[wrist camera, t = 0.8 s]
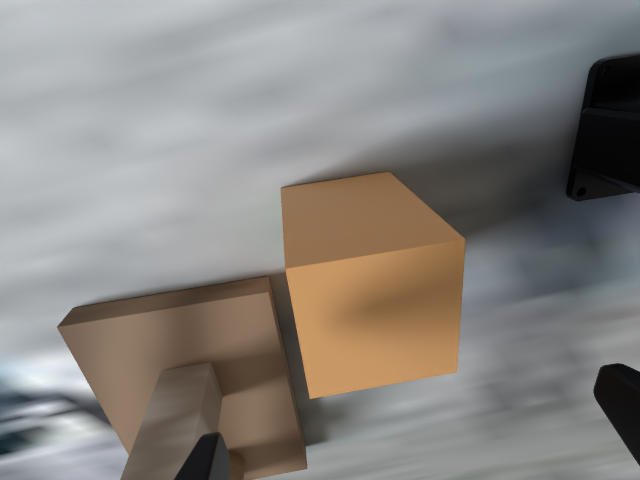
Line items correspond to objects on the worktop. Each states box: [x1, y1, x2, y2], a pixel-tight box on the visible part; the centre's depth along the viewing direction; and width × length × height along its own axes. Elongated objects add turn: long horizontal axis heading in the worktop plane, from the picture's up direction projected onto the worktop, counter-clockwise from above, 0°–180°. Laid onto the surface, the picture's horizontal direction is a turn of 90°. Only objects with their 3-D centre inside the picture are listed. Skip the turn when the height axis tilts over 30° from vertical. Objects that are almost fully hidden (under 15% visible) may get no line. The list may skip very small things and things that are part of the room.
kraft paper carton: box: [281, 172, 466, 399], centre depth 15 cm, size 5×5×8 cm
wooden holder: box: [57, 276, 307, 480], centre depth 18 cm, size 10×14×8 cm
